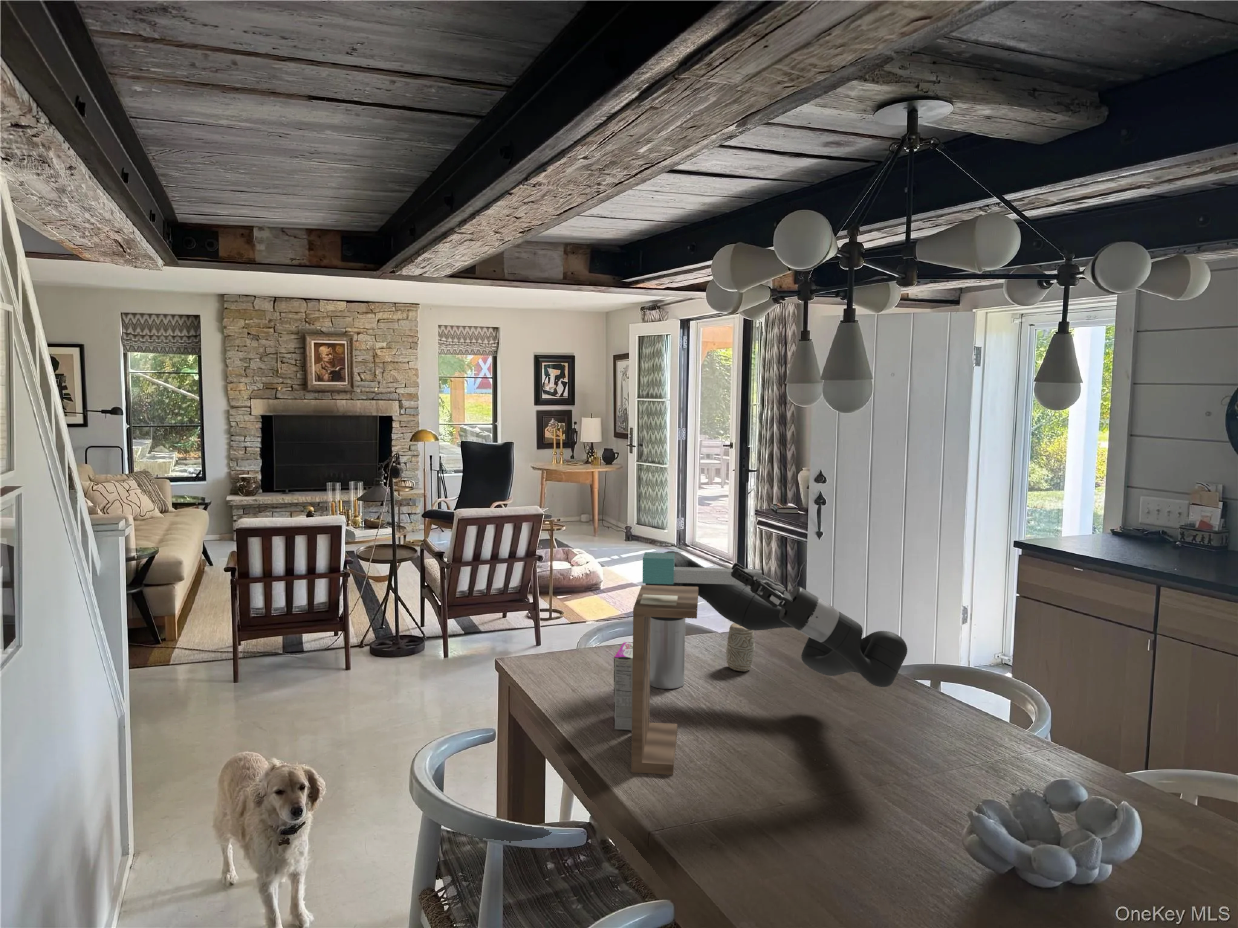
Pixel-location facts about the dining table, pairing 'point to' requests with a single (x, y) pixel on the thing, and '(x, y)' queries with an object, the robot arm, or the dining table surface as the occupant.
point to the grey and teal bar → (685, 572)
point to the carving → (740, 648)
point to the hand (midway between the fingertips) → (733, 568)
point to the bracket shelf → (649, 739)
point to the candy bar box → (623, 687)
